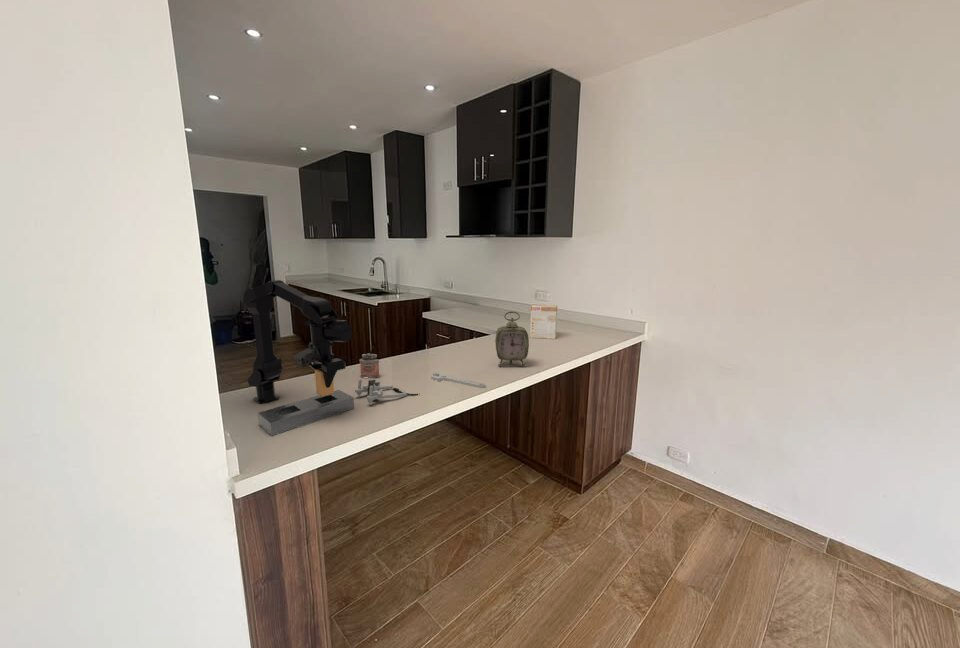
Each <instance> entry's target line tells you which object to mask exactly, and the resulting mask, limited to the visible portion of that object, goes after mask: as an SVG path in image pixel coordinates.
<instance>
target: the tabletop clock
mask: <svg viewBox="0 0 960 648" xmlns="http://www.w3.org/2000/svg"><path fill="white" fill-rule="evenodd" d="M508 314H516V315H518V317H517V318H515V319H514V318H513V317H511V318H510V319H509V318H506V316H507V315H508ZM520 317H521V315H520V313H519V312H517V311H508V312H505V314H504V319H505V320H507V321H508V322H507V323H506V325H504V326H500V327H498V328H497V329H496V332H495V341H494V342H495V351H496V357H498V358H497V359H499V360H500V362H499V363H498V364H497V366H498V367H500V368H501V367H503V365H502V362H503V361H508V363H509V365H512V364H513V362H515V361H520V362H521V367H523V368H525V367H526V363H525V362H523V360H526V359H527V357H528V354H529V347H530V343H529V342H530V340H529V333H528V332H527V330H526V328H525V327H523V326H518V323H517V322H516V321H518V320H520Z"/></svg>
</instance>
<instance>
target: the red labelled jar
mask: <svg viewBox="0 0 960 648" xmlns="http://www.w3.org/2000/svg"><path fill="white" fill-rule="evenodd" d="M377 357H378V355H377V353H376V354H375V353H366V354H365V353H363V354H361V358H360V359H359V364H360V365H359V368H360V378H361V377H368V378H367V379H379V378H380V377H381V376H380V365H379V362H380V360H379V359H377ZM378 377H379V378H378Z"/></svg>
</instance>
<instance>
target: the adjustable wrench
mask: <svg viewBox="0 0 960 648" xmlns="http://www.w3.org/2000/svg"><path fill="white" fill-rule="evenodd" d="M437 376H438V377H437ZM430 379H431V380H432V379H433V381H435V380H437V381H436V382H442V381H443V380H444V381H443V382H450V381H451V383H455V384H459V383H460V385H465V386H470V387H475V388H479V389H484V388H486V383H483V382H478V381H473V380H470V379H469V380H468V379H464V378H463V379H462V378H458V377H454V376H450V375H447V374H445V373H444V372H433V373H432V375H431V376H430Z"/></svg>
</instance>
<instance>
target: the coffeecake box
mask: <svg viewBox="0 0 960 648" xmlns="http://www.w3.org/2000/svg"><path fill="white" fill-rule="evenodd" d="M557 324H558V304H538V303H537V304H535V303H533V304H531V305H530V329H529V330H530V332H529V333H530V334H529V337H530V339H545V338H546V339H547V340H556V338H557V330H558V329H557V326H558V325H557Z"/></svg>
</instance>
